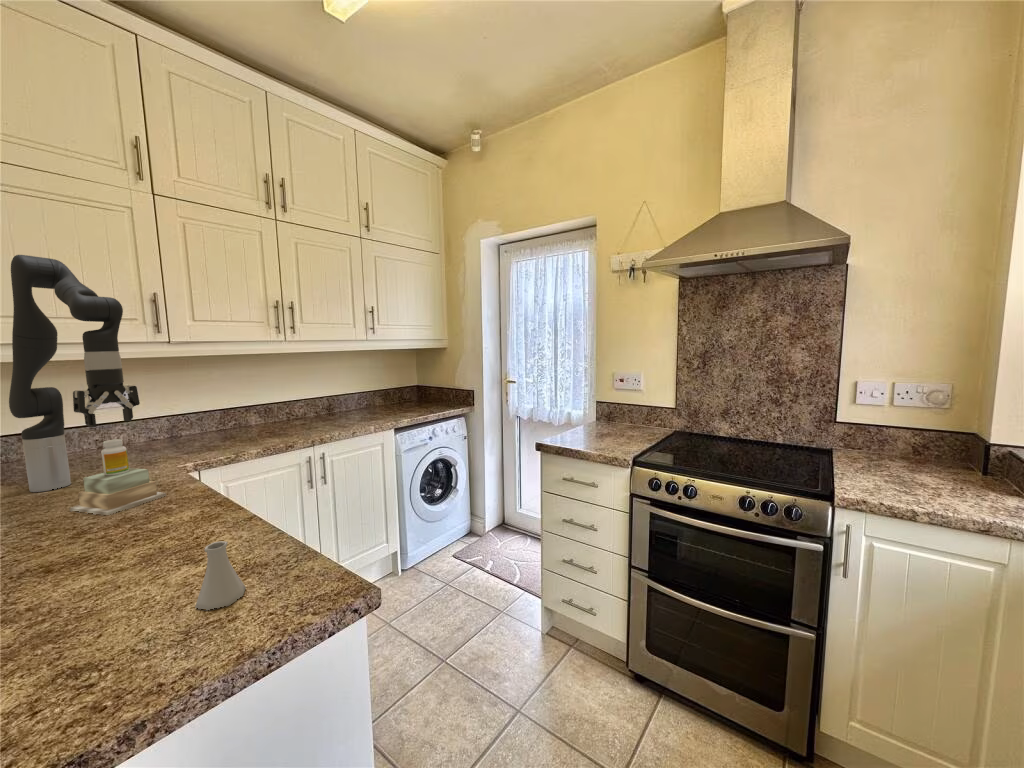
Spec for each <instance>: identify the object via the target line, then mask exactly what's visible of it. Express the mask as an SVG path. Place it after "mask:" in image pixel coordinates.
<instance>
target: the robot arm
mask: <svg viewBox="0 0 1024 768" xmlns="http://www.w3.org/2000/svg"><path fill="white" fill-rule="evenodd" d="M10 278H11V280H10V282H11V289H12V290H11V291H12V301H13V314H12V315H13V317H12V318H13V319H12V331H11V332H12V333H11V334H12V337H11V338H12V339H11V341H12V343H11V344H12V346H11V347H12V371H11V372H12V373H11V381H10V386H9V387H10V388H9V394H8V395H9V396H8V406H9V411H10V413H11V415H12V416H13V417H14V418H17V419H28V418H37V417H43V419H41V421H39V422H37V423H36V424H33V425H32V426H30V427H27V428H24V429H23V430H22V431H21V435H20V436H21V439H22V446H23V447H22V448H23V453H24V462H25V468H26V475H27V476H26V477H27V482H28V489H29V492H31V493H37V492H38V493H39V492H40V493H41V492H48V491H53V490H52V489H54V490H58V489H61V487H62V488H65V487H68V486H70V485H72V480H71V472H70V467H69V466H70V465H69V458H68V451H67V442H66V436H65V418H64V417H65V416H64V400H63V395H62V393H61V392H60V390H59V389H58V388H56V387H51V386H48V387H47V386H46V387H32V385H33V382H34V380H35V378H36V375H37V374H38V373H39V372H40V371H41V370H42V369H43V368H44V367H45V366H46V365H47V364H48V363H49V362H50V360H51V359H52V358H53V357H54V356H55V354H56V352H57V350H58V329H57V327H56V326H55V324H54V323H53V322H52V321H51V320H50V319H49V317H47V315H46V314H45V313H44V312H43V311H42V310H41V308H39V306H38V304H37V303H36V301H35V298H34V296H33V288H38V289H48V290H54V295H55V296H56V297H57V299H58V300H59V301H60V302H62V303H63V304H65V305H66V306H67V307H68V309H69V313H70V314H71V316H72V317H73V318H74V320H75V319H76V320H77V321H80V322H81V321H82V322H89V323H90V322H96V323H97V322H98V323H99V322H100V323H103V324H102V326H101V327H100V328H99V329H98V328H97V329H92V330H86V331H84V332H83V333H82V343H83V344H82V345H83V353H84V356H83V364H84V371H85V372H84V373H85V379H86V385H87V390H74V391H72V400H73V401H72V402H73V403H72V405H73V406H72V407H73V412H74V413H77V414H78V413H79V414H83V415H84V424H85V426H87V427H88V428H95V427H97V421H96V414H95V411H96V410H97V408H99V407H100V406H101V405H105V404H110V403H112V404H113V403H116V404H118V405H120V406H121V407H122V416H123V421H124V422H132V419H134V414H133V413H134V412H133V408H134V407H136V406H139V405H140V404H141V403H140V398H139V392H138V387H137V386H136V385H127V386H125V385H124V373H123V364H122V358H121V355H120V352H119V351H120V349H119V339H118V337H119V336H118V334H119V330H120V324H121V322H122V318H123V315H124V314H123V313H124V308H123V305H122V304H121V302H120V301H119V300H118V299H116V298H114V297H109V296H99V295H98V294H97V293H96V292H95V291H94V290H92V289H91V288H90V287H88V286H87V285H84V284H83V283H82V282H80V281H79V279H78V278H77V276H76V275H75V274H74V273H73V272H72V270H70V268H69V267H68V266H67V265H66V264H64V263H63V262H62V261H60V260H59V259H54V258H49V257H42V256H35V255H26V254H16V255H14V256H13V258H12V260H11V263H10ZM124 393H126V394H127V397H126V396H124ZM87 397H89V400H88V401H87V402H86V398H87ZM57 488H58V489H57Z"/></svg>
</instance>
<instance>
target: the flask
mask: <svg viewBox="0 0 1024 768" xmlns="http://www.w3.org/2000/svg"><path fill="white" fill-rule="evenodd" d="M227 545H228V541H222V540H220V541H215V542H212V543H209V544H208V545H206V546H205V548H204V552H205V553H206V557H207V563H206V569H205V574H204V577H203V581H202V584H201V587H200V589H199V593H198V597H197V600H196V603H195V606H194V609H195V608H198V609H197V610H201V609H206V610H205V611H208V610H209V611H211V610H210V609H213V610H215V609H214V608H217V609H220V607H222V608H224V606H226V607H229V606H231V604H233V603H235V602H236V601H237V599H238V600H240V597H241V598H242V597H243V596H244V595H245V594H244V593H245V590H246V588H247V587H246V586H245V584H244V583H243V581H242V579H241V577H239V575H238V573H237V572H236V570H235V569H234V567H233V565H232V564H231V562H230V559H229V556H228V554H227V547H228V546H227Z"/></svg>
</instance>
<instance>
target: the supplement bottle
mask: <svg viewBox="0 0 1024 768" xmlns="http://www.w3.org/2000/svg"><path fill="white" fill-rule="evenodd" d="M102 442H103V444H102V446H103V449H102V450H101V452H100V455H101V463H102V464H101V465H102V470H103V472H102V473H104V475H105V476H112V475H119V474H123V473H126V472H128V471H129V468H130V466H129V456H128V450H127V447H126V446H124V444H123V439H122V438H121V439H120V438H115V439H108V440H104V441H102Z"/></svg>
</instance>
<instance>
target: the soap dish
mask: <svg viewBox="0 0 1024 768" xmlns="http://www.w3.org/2000/svg"><path fill="white" fill-rule="evenodd" d="M82 478H83V479H82V480H83V486H84V487H83V488H84V490H82V491H78V493H77V495H78V500H79V504H78V505H74V506H70V507H69V512H72V511H79V512H78V513H80V512H87V513H86V514H88V513H93V514H92V515H96V514H101V515H100V516H103V515H109V516H111V515H114V514H117V513H119V512H118V511H120V512H123V511H126V510H130V509H133V508H135V507H138V506H141V505H143V503H144V504H147V503H150V502H153V501H155V499H156V500H159V499H161V497H162V498H164V496H165V497H167V493H166V492H161V491H157V483H156V482H157V481H156V480H155V481H154V480H150V474H149V469H148V468H147V469H146V468H138V467H137V468H136V467H135V468H134V467H129V471H128V472H126V473H123V474H119V475H112V476H105V475H104V472H101V473H96V474H93V475H90V476H85V477H82ZM158 498H159V499H158ZM152 500H153V501H152ZM149 501H150V502H149ZM146 502H147V503H146ZM140 504H141V505H140ZM125 509H126V510H125ZM122 510H123V511H122ZM116 512H117V513H116ZM113 513H114V514H113ZM110 514H111V515H110Z"/></svg>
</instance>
